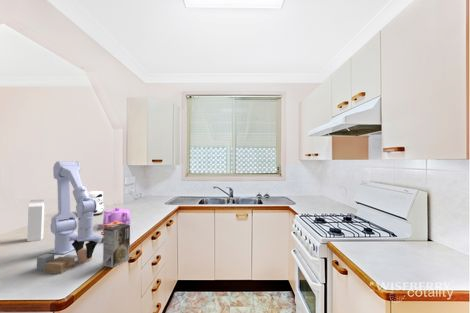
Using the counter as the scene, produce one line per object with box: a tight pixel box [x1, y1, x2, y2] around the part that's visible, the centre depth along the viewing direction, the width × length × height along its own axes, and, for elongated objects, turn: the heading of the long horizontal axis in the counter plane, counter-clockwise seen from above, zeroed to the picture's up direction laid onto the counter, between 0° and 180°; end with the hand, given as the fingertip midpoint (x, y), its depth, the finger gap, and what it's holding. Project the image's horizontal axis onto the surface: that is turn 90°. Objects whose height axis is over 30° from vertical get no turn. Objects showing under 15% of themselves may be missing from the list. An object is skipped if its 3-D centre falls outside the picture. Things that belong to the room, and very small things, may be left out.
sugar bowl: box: [100, 221, 123, 238], centre depth 139 cm, size 12×14×10 cm
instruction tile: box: [63, 254, 77, 259], centre depth 110 cm, size 8×6×1 cm
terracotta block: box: [76, 247, 93, 264], centre depth 109 cm, size 4×4×5 cm
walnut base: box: [44, 256, 76, 274], centre depth 100 cm, size 7×7×4 cm
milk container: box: [87, 190, 105, 216], centre depth 197 cm, size 17×17×18 cm
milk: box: [26, 199, 45, 242], centre depth 135 cm, size 6×6×22 cm
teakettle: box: [102, 206, 131, 228], centre depth 166 cm, size 17×17×12 cm
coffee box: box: [102, 223, 131, 269], centre depth 107 cm, size 9×6×16 cm
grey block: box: [36, 253, 55, 271], centre depth 101 cm, size 4×4×5 cm
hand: (84, 257), depth 109 cm, fingers closed on terracotta block, 4 cm apart
